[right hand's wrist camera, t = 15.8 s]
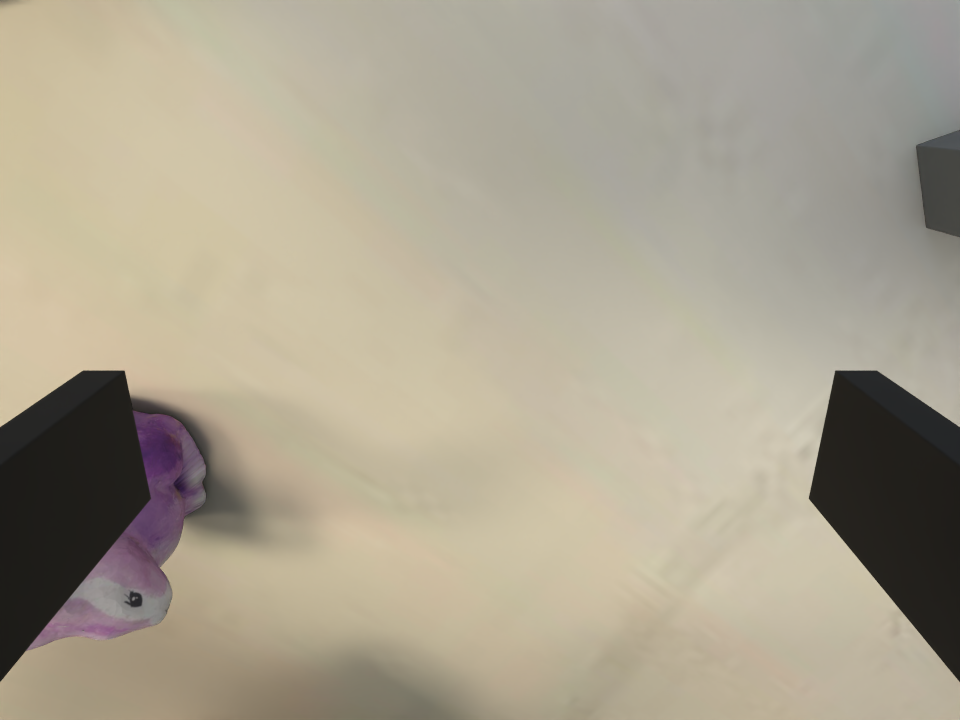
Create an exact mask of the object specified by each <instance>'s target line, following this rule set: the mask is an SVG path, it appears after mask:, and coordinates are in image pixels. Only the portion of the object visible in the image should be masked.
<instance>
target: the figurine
mask: <svg viewBox="0 0 960 720" xmlns="http://www.w3.org/2000/svg"><path fill="white" fill-rule="evenodd" d="M133 414H134V418H135V423H136V428H137V433H138V438H139V442H140V447H141V452H142V457H143V462H144V467H145V471H146V476H147V481H148V486H149V491H150V495H151V499H150V501H149V502H148V503H147V504H146V506H145V507H144V508H143V509H142V510H141V512H140V513H139V514H138V515H137V516H136V518H135V519H134V520H133V521H132V523H131V524H130V525H129V526H128V527H127V529H126V530H125V531H124V532H123V533H122V535H121V536H120V537H119V538H118V539H117V541H116V542H115V543H114V544H113V546H112V547H111V548H110V549H109V550H108V552H107V553H106V554H105V555H104V556H103V558H102V559H101V560H100V561H99V563H98V564H97V565H96V566H95V567H94V569H93V570H92V571H91V572H90V573H89V575H88V576H87V577H86V578H85V580H84V581H83V582H82V583H81V584H80V586H79V587H78V588H77V589H76V590H75V592H74V593H73V594H72V595H71V597H70V598H69V599H68V600H67V601H66V603H65V604H64V605H63V606H62V607H61V609H60V610H59V611H58V612H57V614H56V615H55V616H54V617H53V618H52V620H51V621H50V622H49V623H48V624H47V626H46V627H45V628H44V629H43V631H42V632H41V633H40V634H39V635H38V637H37V638H36V639H35V640H34V641H33V643H32V644H31V645H30V646H29V648H28V649H27V650H31V649H34V648H37V647H40V646H43V645H45V644H48V643H50V642H52V641H54V640H58V639H62V638H65V637H72V636H82V637H87V638H90V639H95V640H109V639H113V638H116V637H119V636H121V635H124V634H127V633H129V632H132V631H136V630H139V629H143V628H147V627H150V626H154V625H157V624H158V623H160V622H161V621H162V620H163V619H164V617H165V616H166V614H167V610H168V608H169V605H170V602H171V599H172V589H171V586H170V583H169V581H168V579H167V577H166V575H165V574H164V572H163V571H162V570H161V569H160V567H161V566H162V565H163V564H164V562H165V561H166V560H167V559H168V558H169V557H170V555H171V554H172V553H173V552H174V550H175V548H176V547H177V545H178V543H179V540H180V537H181V533H182V529H183V521H184V517H185V516H186V515H188V514H190V513H191V512H193V511H195V510H197V509H198V508H200V507H201V506H202V505H203V504H204V503H205V501H206V493H205V489H204V486H203V485H202V481H203V479H204V477H205V476H206V465H205V464H204V459H203V457H202V455H201V454H200V452H199V449H198V448H197V446H196V444H195V442H194V440H193V438H192V437H191V436H190V434H189V433H188V431H186V428H185V427H184V426H183V424H182V423H181V422H180V421H178V420H176V419H174V418H173V417H172V416H168V415H163V414H147V413H142V412H137V411H134V410H133ZM27 650H26V651H27Z"/></svg>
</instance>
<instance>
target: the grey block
mask: <svg viewBox="0 0 960 720" xmlns="http://www.w3.org/2000/svg"><path fill="white" fill-rule="evenodd" d="M916 148H917V156H918V164H919V172H920V181H921V189H922V197H923V205H924V213H925V222H926V227H927V228H929V229H933V230H936V231H940V232H943V233H947V234H950V235H954V236H957V237H960V130H959V131H956V132H953V133H950V134H947V135H944V136H941V137H939V138H936V139H933V140H930V141H927V142H924V143H922V144H919V145H917V146H916Z"/></svg>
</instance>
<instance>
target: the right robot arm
mask: <svg viewBox="0 0 960 720" xmlns="http://www.w3.org/2000/svg"><path fill="white" fill-rule="evenodd" d="M150 499H151V495H150V491H149V486H148V481H147V476H146V471H145V467H144V462H143V457H142V452H141V447H140V442H139V438H138V433H137V428H136V423H135V418H134V414H133V409H132V404H131V399H130V394H129V390H128V385H127V380H126V375H125V371H82V372H80V373H79V374H78V375H76V376H75V377H73V378H72V379H70V380H69V381H67V382H66V383H64V384H63V385H61V386H60V387H58V388H57V389H56V390H54V391H53V392H51V393H50V394H48V395H47V396H45V397H44V398H42V399H41V400H39V401H38V402H37V403H35V404H34V405H32V406H31V407H29V408H28V409H26V410H25V411H23V412H22V413H20V414H19V415H18V416H16V417H15V418H13V419H12V420H10V421H9V422H7V423H6V424H4V425H3V426H1V427H0V682H1V680H2V679H3V678H4V677H5V675H6V674H7V673H8V672H9V671H10V669H11V668H12V667H13V666H14V665H15V663H16V662H17V661H18V660H19V658H20V657H21V656H22V655H23V654H24V652H25V651H26V650H27V649H28V648H29V646H30V645H31V644H32V643H33V641H34V640H35V639H36V638H37V637H38V635H39V634H40V633H41V632H42V631H43V629H44V628H45V627H46V626H47V624H48V623H49V622H50V621H51V620H52V618H53V617H54V616H55V615H56V614H57V612H58V611H59V610H60V609H61V607H62V606H63V605H64V604H65V603H66V601H67V600H68V599H69V598H70V597H71V595H72V594H73V593H74V592H75V590H76V589H77V588H78V587H79V586H80V584H81V583H82V582H83V581H84V580H85V578H86V577H87V576H88V575H89V573H90V572H91V571H92V570H93V569H94V567H95V566H96V565H97V564H98V563H99V561H100V560H101V559H102V558H103V556H104V555H105V554H106V553H107V552H108V550H109V549H110V548H111V547H112V546H113V544H114V543H115V542H116V541H117V539H118V538H119V537H120V536H121V535H122V533H123V532H124V531H125V530H126V529H127V527H128V526H129V525H130V524H131V523H132V521H133V520H134V519H135V518H136V516H137V515H138V514H139V513H140V512H141V510H142V509H143V508H144V507H145V506H146V504H147V503H148V502H149V501H150ZM809 499H810V501H811V502H812V503H813V504H814V506H815V507H816V508H817V509H818V510H819V512H820V513H821V514H822V515H823V516H824V518H825V519H826V520H827V521H828V523H829V524H830V525H831V526H832V527H833V529H834V530H835V531H836V532H837V533H838V535H839V536H840V537H841V538H842V539H843V541H844V542H845V543H846V544H847V546H848V547H849V548H850V549H851V550H852V552H853V553H854V554H855V555H856V556H857V558H858V559H859V560H860V561H861V563H862V564H863V565H864V566H865V567H866V569H867V570H868V571H869V572H870V573H871V575H872V576H873V577H874V578H875V580H876V581H877V582H878V583H879V584H880V586H881V587H882V588H883V589H884V590H885V592H886V593H887V594H888V595H889V597H890V598H891V599H892V600H893V601H894V603H895V604H896V605H897V606H898V607H899V609H900V610H901V611H902V612H903V614H904V615H905V616H906V617H907V618H908V620H909V621H910V622H911V623H912V624H913V626H914V627H915V628H916V629H917V631H918V632H919V633H920V634H921V635H922V637H923V638H924V639H925V640H926V641H927V643H928V644H929V645H930V646H931V648H932V649H933V650H934V651H935V652H936V654H937V655H938V656H939V657H940V658H941V660H942V661H943V662H944V663H945V665H946V666H947V667H948V668H949V669H950V671H951V672H952V673H953V674H954V675H955V677H956V678H957V679H958V680H959V682H960V427H959V426H957V425H956V424H954V423H953V422H951V421H950V420H948V419H947V418H945V417H944V416H942V415H941V414H940V413H938V412H937V411H935V410H934V409H932V408H931V407H929V406H928V405H926V404H925V403H923V402H922V401H921V400H919V399H918V398H916V397H915V396H913V395H912V394H910V393H909V392H907V391H906V390H904V389H903V388H902V387H900V386H899V385H897V384H896V383H894V382H893V381H891V380H890V379H888V378H887V377H885V376H884V375H882V374H881V373H880V372H878V371H835V375H834V380H833V385H832V390H831V394H830V399H829V404H828V409H827V414H826V418H825V423H824V428H823V433H822V438H821V442H820V447H819V452H818V457H817V462H816V467H815V471H814V476H813V481H812V486H811V491H810V495H809Z"/></svg>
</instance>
